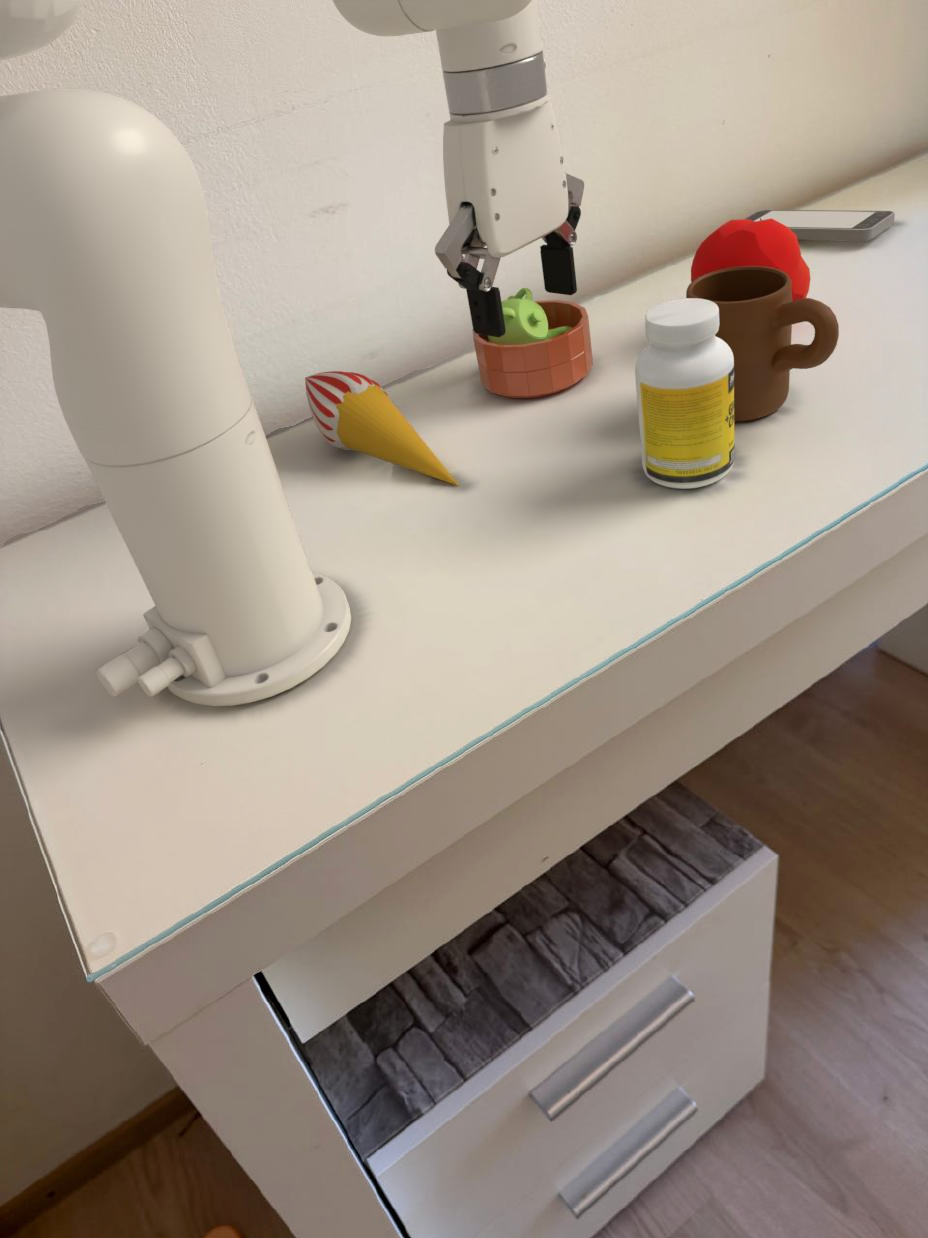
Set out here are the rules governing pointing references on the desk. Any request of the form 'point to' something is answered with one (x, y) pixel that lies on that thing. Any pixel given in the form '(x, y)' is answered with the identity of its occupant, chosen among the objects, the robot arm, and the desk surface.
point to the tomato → (754, 251)
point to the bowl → (539, 356)
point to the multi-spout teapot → (525, 321)
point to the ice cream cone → (368, 422)
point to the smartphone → (830, 223)
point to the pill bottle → (685, 395)
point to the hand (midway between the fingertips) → (526, 312)
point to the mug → (764, 333)
